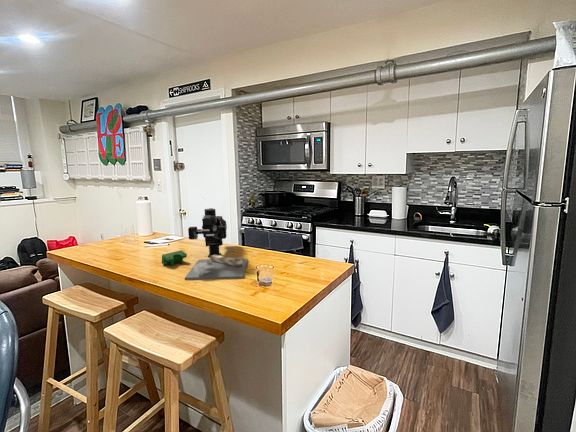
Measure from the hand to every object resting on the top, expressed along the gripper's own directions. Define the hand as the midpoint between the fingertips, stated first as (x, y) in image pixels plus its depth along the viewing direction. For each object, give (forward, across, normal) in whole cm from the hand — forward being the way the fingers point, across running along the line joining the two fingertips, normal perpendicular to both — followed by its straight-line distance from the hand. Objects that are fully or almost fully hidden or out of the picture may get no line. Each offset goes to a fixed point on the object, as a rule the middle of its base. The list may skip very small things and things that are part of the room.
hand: (204, 237), depth 152 cm
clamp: (-11, -18, +18) cm, 27 cm away
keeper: (+9, +1, +16) cm, 18 cm away
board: (0, +6, +16) cm, 18 cm away
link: (-6, +9, +16) cm, 19 cm away
